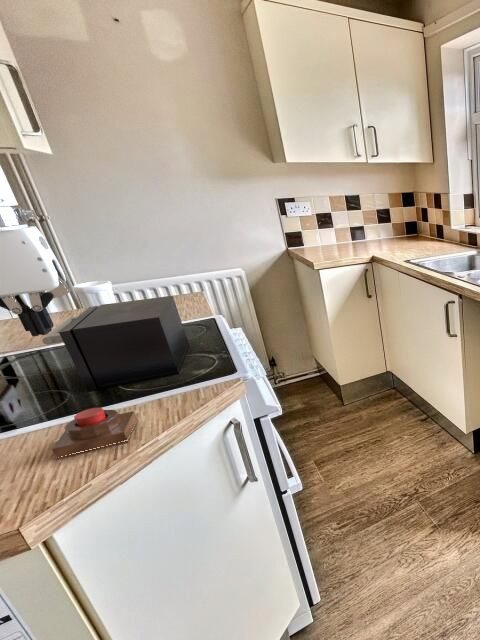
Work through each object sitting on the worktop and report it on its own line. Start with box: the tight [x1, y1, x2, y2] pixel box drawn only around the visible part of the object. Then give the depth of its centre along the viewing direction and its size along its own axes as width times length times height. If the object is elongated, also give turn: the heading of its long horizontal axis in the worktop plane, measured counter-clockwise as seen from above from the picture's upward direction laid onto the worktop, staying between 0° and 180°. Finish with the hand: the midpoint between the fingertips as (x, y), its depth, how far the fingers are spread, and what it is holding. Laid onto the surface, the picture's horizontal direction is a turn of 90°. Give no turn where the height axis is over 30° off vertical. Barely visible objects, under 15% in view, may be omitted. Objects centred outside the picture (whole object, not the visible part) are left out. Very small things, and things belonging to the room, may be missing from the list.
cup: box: [72, 280, 117, 311], centre depth 122 cm, size 8×8×14 cm
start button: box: [73, 407, 107, 427], centre depth 72 cm, size 4×4×2 cm
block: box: [51, 409, 139, 461], centre depth 73 cm, size 9×8×4 cm
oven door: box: [41, 306, 99, 393], centre depth 94 cm, size 5×20×14 cm, turn 30°
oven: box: [73, 295, 190, 391], centre depth 99 cm, size 14×20×14 cm
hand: (42, 333), depth 70 cm, fingers closed
